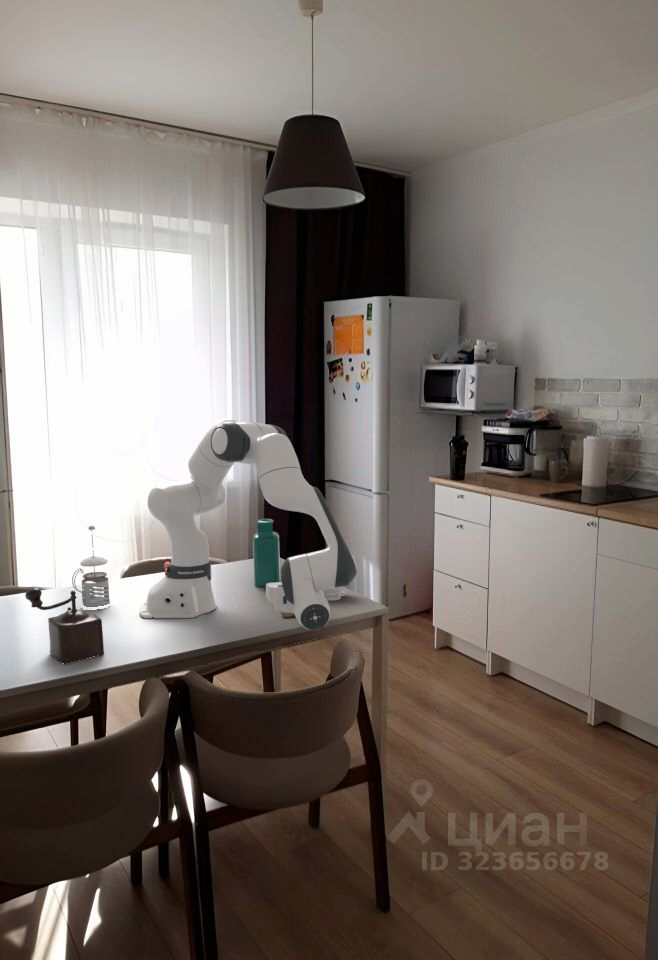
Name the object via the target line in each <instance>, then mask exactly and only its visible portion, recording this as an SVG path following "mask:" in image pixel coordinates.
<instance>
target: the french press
mask: <svg viewBox="0 0 658 960" xmlns="http://www.w3.org/2000/svg"><path fill="white" fill-rule="evenodd" d="M88 530H89V531H93V530H96V527H95V526H94V525H90V526H89V527H88ZM93 539H94V537H93V535H91V544H92V547H94V540H93ZM108 562H109V560H108V559H106V558H105V557H102V556H95V553H94V551H92V556H90V557H87V558H85V559H83V560H82V561H80V562H79V564H80V565H81V567H93V571H92V572H86V573H84V569H83V568H77V569H76V570H75V571H74V573H73V576H72V579H71V582H72V583H71V584H72V587H73V588H74V589H75V590H74V591H77V592H79V593H81V597H82V598H81V599H82V604H83V605H84V606H86V607H98V606H104V605H107V604H110V601H111V600H110V590H109V584H110V583H109V578H108V577H106V576H108V575H107V574H108V573H107V572H104V571H95V567H99V566H103V565H105V564H107V563H108ZM79 573H81V574H83V575H82V578H83V579H82V580H81V590H82V591H81V590H79V589H78V588H77V586H76V579H77V578H76V577H77V576H78V574H79Z"/></svg>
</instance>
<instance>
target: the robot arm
mask: <svg viewBox="0 0 658 960" xmlns="http://www.w3.org/2000/svg"><path fill="white" fill-rule="evenodd" d="M235 463H237V464H244V465H245V464H247V465H252V464H254V466H255V468H256V473H257V477H258V482H259V485H260V487H259V488H260V489H261V493H262V496H263V498H264V500H265V501H266V502H267V503H268V504H270V505H271V506H272V507H275V508H277V509H280V510H284V511H290V512H298V513H303V514H306V515H309V516H311V517H312V518H314V520H315V521H316V523H317V524H318V526H319V529H320V531H321V533H322V536H323V537H324V540H325V542H326V544H327V547H326V548H323V549H321V550H316V551H312V552H308V553H302V554H298V555H294V556H290V557H289V556H288V557H287V558H285V560H284V561H283V564H282V565H281V568H280V582H276V583H267V584H266V587H265V596H266V599H267V601H268V603H269V604H270V605H271V606H273V610H274V611H277V612H281V611H282V612H290V613H294V614H295V617H294V618H296V620H297V622H298V624H299V625H300V626H302V628H304V629H306V630H308V631H318V630H319V631H320V630H321V629H323V628H324V627H326V625H327V624H328V623H329V621H330V619H331V608H330V604H329V601H338V600H340V599H342V597H345V596H346V592H345V590H344V589H342V587H348V586H349V585H350V584H351V583H352V582H353V580H354V579H355V577H356V575H358V574H357V572H358V571H357V564H356V559H355V557H354V556H353V554H352V552H351V550H350V548H348V545H347V544H346V542H345V539H344V538H343V536H342V533H341V531H340V529H339V526H338V525H337V522H336V520H335V518H334V516H333V514H332V511H331V510H330V507H329V505H328V502H327V501H326V499H325V497H324V496H323V493H322V492H321V490H320V489H319V488H318V487H316V486H312V485H310V484H309V482H308V481H307V480H306V479H305V478H304V475H303V473H302V469H301V465H300V462H299V459H298V456H297V454H296V452H295V448H294V447H293V444H292V442H291V441H290V439H289V437H288V434H287V433H286V431H285V430H284V429H283V428H281V427H280V426H277V425H274V424H265V423H261V422H256V421H255V422H254V421H250V422H249V421H247V422H246V421H245V422H244V421H242V422H241V421H238V420H236V419H233V418H228V417H225V418H221V419H219V420H217V422H216V423H214V424H213V425H212V427H211V428H210V429H208V431H207V432H206V433H205V435H204V436H203V438H202V439H201V441H200V442H199V444H198V445H197V446H196V449H195V451H194V452H193V454H192V455H191V456H190V458H189V460H188V464H187V465H188V471H189V473H190V476H189V477H187V478H186V479H181V480H175V481H170V482H169V481H168V482H165V483H161V484H160V485H157V486H156V487H153V488H152V489H151V490H150V491H149V493H148V496H147V507H148V510H149V513H150V514H151V516H152V517H154V518H155V519H156V520H158V521H159V522H160V523H161V524H162V526H163V527H164V529H165V530H166V531H165V532H166V533H167V536H168V540H169V547H170V548H169V549H170V558H171V562H170V561H166V562H165V563H164V565H163V568H164V577H163V578H161V579H160V580H159V581H157V583H155V584H154V585H153V586H152V587H151V588H150V589H149V591H148V593H147V597H146V602H144V603H143V604H142V605H141V606H140V607H139V612H140V613H139V616H140V615H141V616H142V617H141V616H140V617H141V618H143V617H144V618H143V619H193V618H197V617H199V616H200V615H203V614H207V613H210V612H213V611H214V610H216V608H218V607H217V603H216V600H215V596H214V592H213V588H212V581H211V580H212V577H213V576H212V575H213V574H212V573H213V571H212V563H211V560H210V554H209V553H210V551H209V547H210V546H209V537H208V535H207V534H206V533H205V531H203V530H202V529H199V528H198V527H197V524H196V522H195V517H196V516H200V515H205V514H209V513H211V512H213V511H215V510H218V509H219V508H221V507H222V506H223V504H224V502H225V500H226V490H225V488H224V485H223V481H224V480H225V478H226V477H227V475H228V473H229V471H231V469H232V467H233V465H235ZM152 617H154V618H152Z"/></svg>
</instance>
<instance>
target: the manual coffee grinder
mask: <svg viewBox="0 0 658 960" xmlns="http://www.w3.org/2000/svg"><path fill="white" fill-rule="evenodd" d="M42 593H43V592H42V590H41V589H40V588H38V587H31V588H29V589H28V590H26V591H25V596H24V597H25V599H26V600H28V601H29V602H30V604H31V608H37V609H39V610H41V611H48V610H52V609H57V608H59V607H62V606H65V605H67V604H69V603H71V607H68V608H67V611H65V612H64V613H61V614H59V615H57V616H52V617H48V619H47V622H48V632H49V633H48V634H49V654H50V655H51V654H52V655H53V656H54V657H55V658H56V659H57V660H58V661H57V662H59V661H60V662H62V663H64V664H65V663H70V664H72V663H71V662H74V661H78V660H82V659H86V658H90V657H93V656H97V655H100V656H103V655H102V654H104V655H105V651H104V650H105V649H104V648H105V646H104V634H103V633H104V632H103V621H102V619H101V618H100V617H99V616H97V615H96V614H94V613H92V612H91V611H89V610H83V609H77V607H76V599H77V596H76V594H77V593H76V590H71V591H70V593H69V594H70V597H69V598H67V599H66V600H63V601H61V602H58V603H57V602H56V603H54V604H53V605H48V606H43V604H44V603H43V601H42V599H41V597H42ZM52 655H51V656H52ZM53 656H52V657H53ZM54 657H53V658H54ZM97 657H98V656H97ZM55 658H54V659H55ZM93 658H94V657H93ZM56 659H55V660H56ZM90 659H91V658H90ZM86 660H87V659H86ZM82 661H83V660H82ZM60 662H59V663H60ZM78 662H79V661H78ZM62 663H61V664H62ZM74 663H75V662H74ZM64 664H63V665H64ZM65 665H66V664H65Z"/></svg>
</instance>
